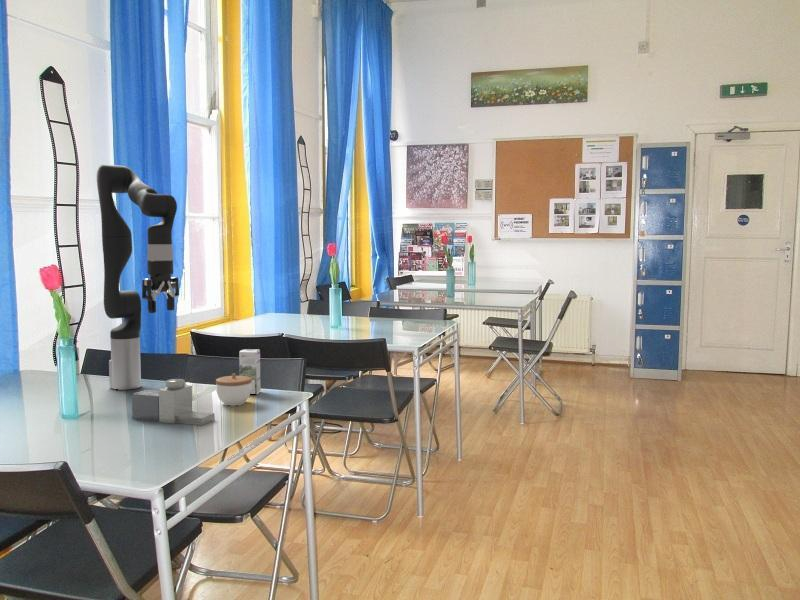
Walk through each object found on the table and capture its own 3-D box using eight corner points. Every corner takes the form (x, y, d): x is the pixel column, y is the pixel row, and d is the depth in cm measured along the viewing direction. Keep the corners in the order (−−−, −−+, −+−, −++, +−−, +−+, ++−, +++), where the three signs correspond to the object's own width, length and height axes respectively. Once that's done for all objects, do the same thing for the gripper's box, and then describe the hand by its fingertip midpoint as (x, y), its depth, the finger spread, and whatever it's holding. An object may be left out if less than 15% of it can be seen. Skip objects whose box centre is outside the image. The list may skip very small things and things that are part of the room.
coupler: (129, 419, 189) (128, 380, 188) (149, 412, 197) (148, 375, 196) (199, 426, 182) (198, 386, 181) (216, 419, 189) (215, 380, 188)
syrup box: (261, 391, 225) (260, 348, 224) (256, 395, 219) (256, 351, 218) (244, 391, 225) (243, 348, 224) (239, 395, 219) (238, 351, 218)
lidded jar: (211, 407, 203) (211, 376, 202) (222, 399, 214) (221, 370, 213) (247, 407, 203) (246, 377, 202) (255, 399, 213) (255, 370, 213)
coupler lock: (130, 418, 191) (129, 393, 190) (144, 413, 196) (144, 389, 196) (158, 421, 187) (158, 396, 187) (172, 416, 193) (172, 391, 192)
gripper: (165, 258, 216) (166, 309, 218) (134, 259, 203) (135, 313, 204) (185, 258, 214) (186, 309, 215) (154, 259, 200) (156, 314, 202)
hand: (161, 311), depth 210 cm, fingers open, 8 cm apart
